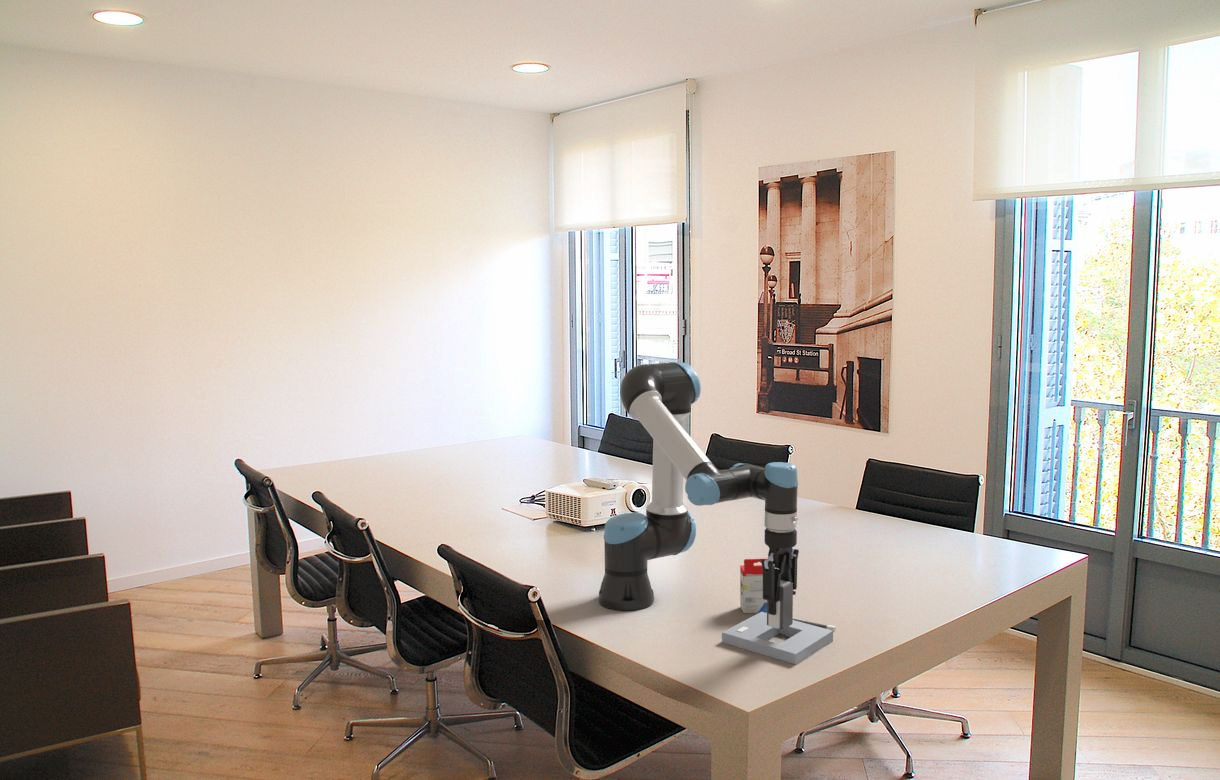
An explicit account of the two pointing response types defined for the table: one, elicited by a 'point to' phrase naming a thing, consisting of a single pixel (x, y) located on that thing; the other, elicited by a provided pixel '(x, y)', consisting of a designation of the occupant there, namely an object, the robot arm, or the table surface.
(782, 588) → the charger plug
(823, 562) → the table surface
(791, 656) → the plate
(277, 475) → the table surface
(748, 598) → the ink box
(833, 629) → the cable
